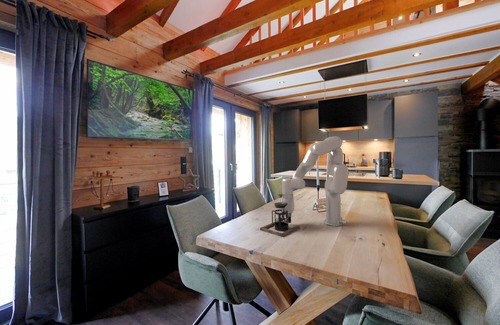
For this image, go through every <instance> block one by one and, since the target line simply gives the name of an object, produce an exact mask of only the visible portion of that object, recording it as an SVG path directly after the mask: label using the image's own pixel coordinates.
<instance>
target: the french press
mask: <svg viewBox="0 0 500 325" xmlns="http://www.w3.org/2000/svg"><path fill="white" fill-rule="evenodd" d="M277 196H278V197H279V198H280V199H283V198H282V196H284V195H283V194H282V193H279V194H277ZM273 205H274V208H276V209H274V210H271V223H272V224H275V225H274V231H276V232H285V231H287V230H290V227H289V223H288V210H287V212H285V213H283V212H284V209H283V212H281V211H282V209H281V208H285V207H286V206H287V205H288V203H284V202H282V201H280V202H279V201H278V202H275V203H274V204H273ZM286 214H287V218H286V217H285V216H284V215H286ZM276 215H277V216H276ZM276 221H277V222H276ZM286 221H287V222H286ZM273 222H275V223H273Z"/></svg>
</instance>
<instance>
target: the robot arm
mask: <svg viewBox="0 0 500 325" xmlns="http://www.w3.org/2000/svg"><path fill="white" fill-rule="evenodd" d="M342 145H343V141H342V139H341V137H339V136H336V135H335V136H329V137H326V138H325V139H324V140H322V141H319V142H314V143H311V144H310V145H309V147H308V148H307V150H306V153H305V155H304V157H303V159H302V161H301V162H300V163H299V166H298V167H297V168H296V170H295V171H294V173H293V175H292V178H288V177H287V178H282V179H281V191H282V192H281V194H283V195H284V196H282V198H281V202H284V203H288V205H287V206H286V207H285V208H280V209H282V211H280V213H281V212H283V209H284V212H283V213H285V212H287V210H288V224H291V223H292V214H293V213H294V211H295V199H294V190H303V189H304V188H305V186H306V181H305V180H304V177H306V174H308V172H310V171H311V170H312V169H313V168H314V167H315V165H316V163H317V162H318V159H319V157H321V156H324V155H326V154H329V162H328V168H327V170H328V171H327V172H328V174H329V175H330V176H332V177H330V178H328V179H326V180H325V182H324V190H325V214H326V215H325V218H326V219H324V220H323V223H324V224H325V225H327V226H331V227H341V226H343V225H344V224H347V223H348V220H346V219H343V217H342V214H341V213H342V212H341V211H342V210H341V207H342V206H341V204H342V203H341V195H342V194H344V193H345V192H346V190H347V187H348V180H349V169H348V166H347V165H346V164H345V163H343V160H344V152H343V149H342ZM284 218H287V214H286V215H284ZM286 223H287V221H286Z"/></svg>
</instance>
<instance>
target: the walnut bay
mask: <svg viewBox="0 0 500 325" xmlns="http://www.w3.org/2000/svg"><path fill="white" fill-rule="evenodd" d="M276 222H277V221H276ZM273 223H275V221H273ZM271 227H275V224H272V222H271V223H268V224H266V225H264V226H261V227H259V231H260V232H261V231H262V232H263V233H264V232H265V233H268V234H272V235H275V236H278V237H281V238H284V237H286V236H288V235H289V234H291V233H293V232H295V231H297V230H299V229H301V228H300V225H296V226H293V227H292V228H289V230H287V231H282V232H280V231H277V230H272V229H269V228H271Z"/></svg>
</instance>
